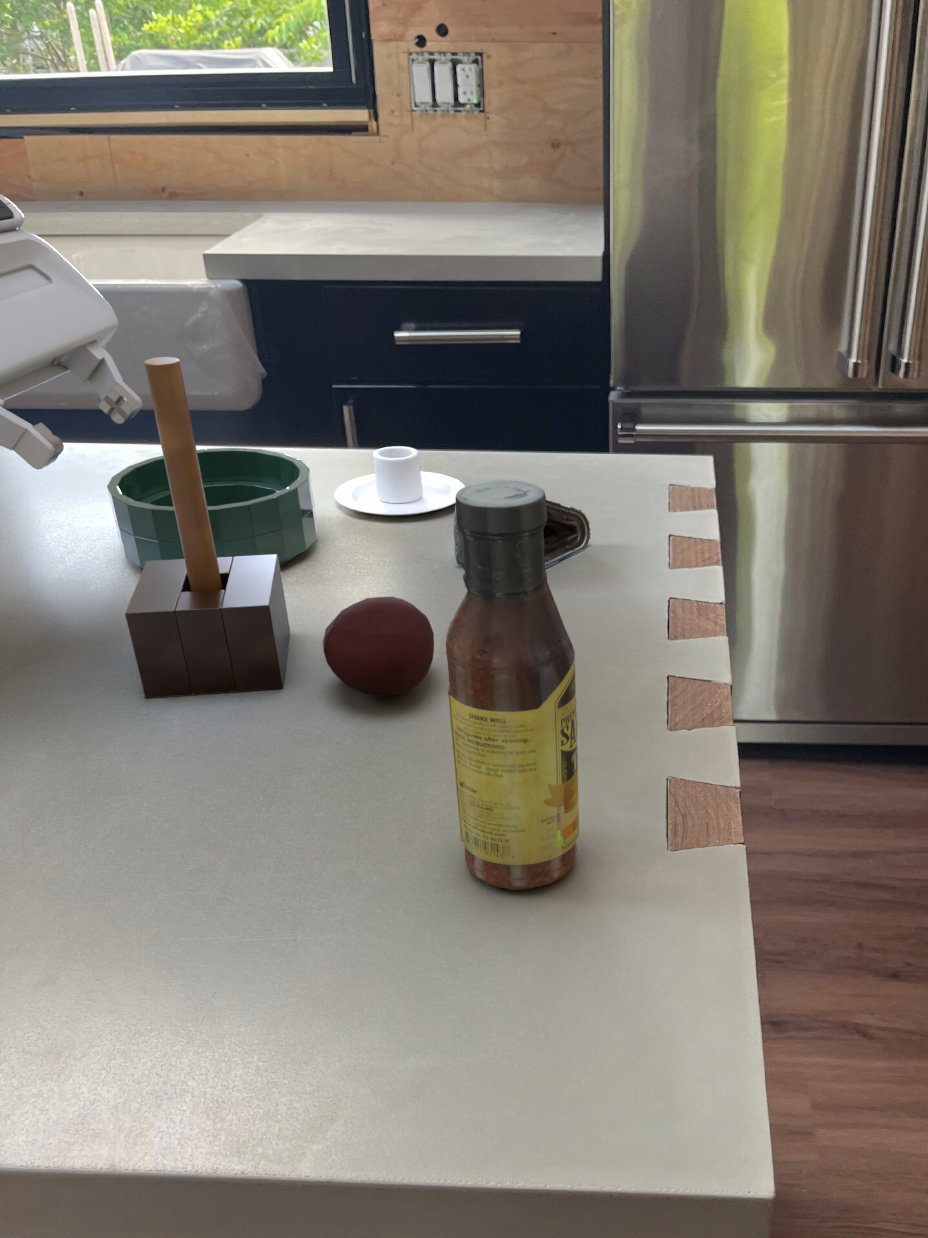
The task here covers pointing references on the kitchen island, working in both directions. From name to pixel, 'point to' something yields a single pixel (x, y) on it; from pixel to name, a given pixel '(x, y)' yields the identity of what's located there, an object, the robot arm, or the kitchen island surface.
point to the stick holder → (210, 628)
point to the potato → (380, 646)
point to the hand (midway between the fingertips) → (95, 435)
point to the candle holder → (398, 486)
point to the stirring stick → (183, 472)
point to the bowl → (219, 506)
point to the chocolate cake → (550, 534)
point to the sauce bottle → (511, 694)
